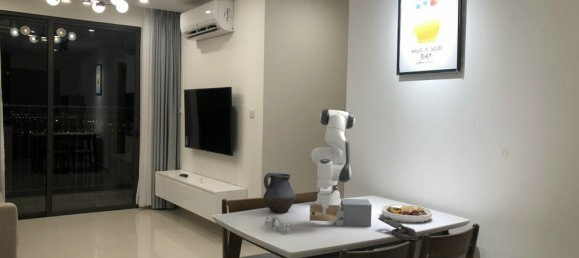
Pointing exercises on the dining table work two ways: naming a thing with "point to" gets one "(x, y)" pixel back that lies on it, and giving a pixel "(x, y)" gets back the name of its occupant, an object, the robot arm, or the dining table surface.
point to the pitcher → (278, 192)
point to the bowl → (407, 213)
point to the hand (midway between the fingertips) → (324, 212)
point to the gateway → (281, 224)
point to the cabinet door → (330, 214)
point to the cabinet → (354, 212)
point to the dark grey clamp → (400, 229)
